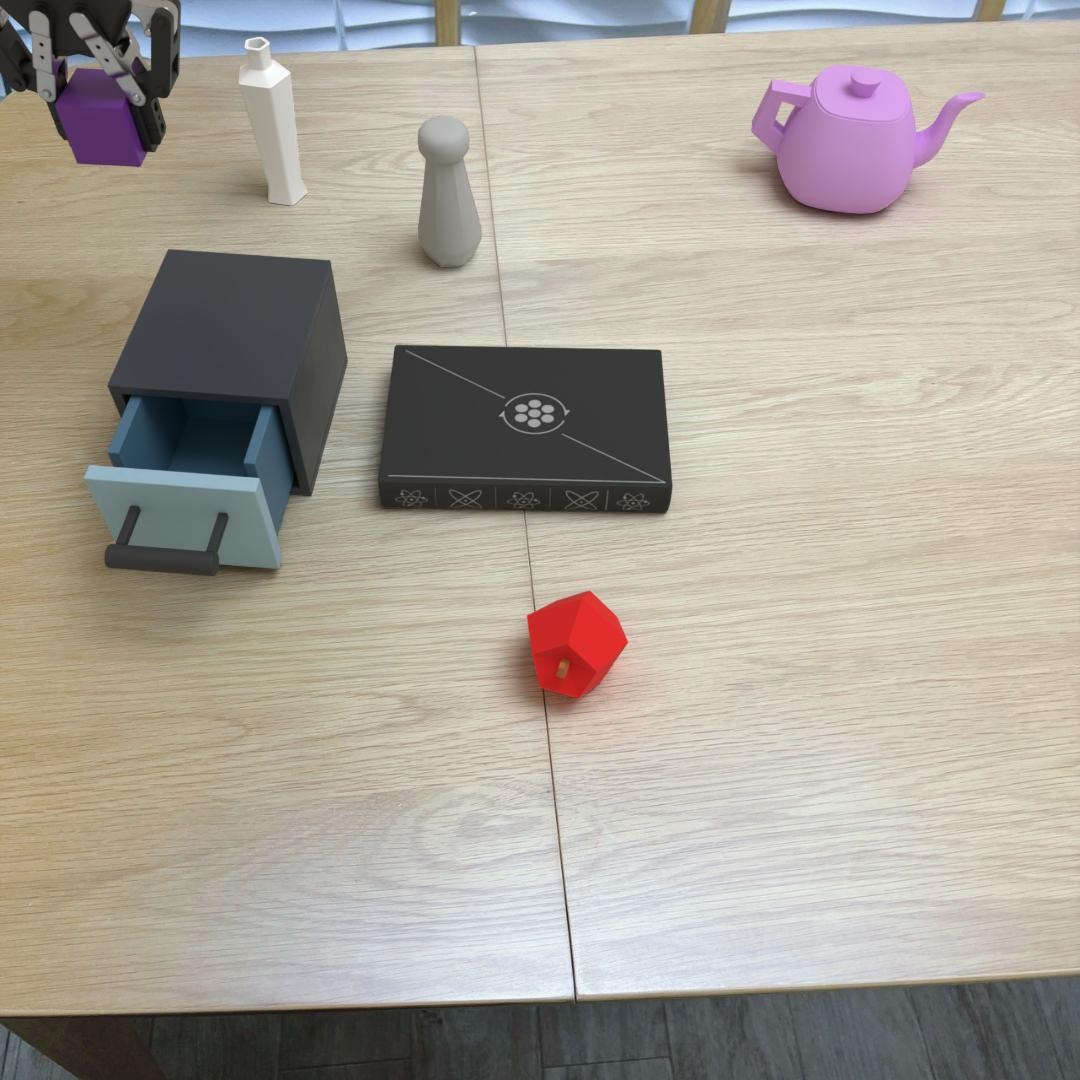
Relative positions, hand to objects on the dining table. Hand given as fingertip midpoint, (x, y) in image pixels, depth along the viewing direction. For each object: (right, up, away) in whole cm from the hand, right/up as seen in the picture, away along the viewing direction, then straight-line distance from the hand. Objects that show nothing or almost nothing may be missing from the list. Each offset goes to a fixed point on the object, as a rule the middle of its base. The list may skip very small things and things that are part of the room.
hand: (116, 142), depth 76 cm
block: (0, 0, 0) cm, 0 cm away
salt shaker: (+22, -2, +24) cm, 32 cm away
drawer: (+6, -26, +4) cm, 27 cm away
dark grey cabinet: (+7, -18, +11) cm, 22 cm away
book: (+29, -20, +10) cm, 36 cm away
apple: (+32, -36, -2) cm, 48 cm away
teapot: (+60, +7, +31) cm, 68 cm away
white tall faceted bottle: (+5, +5, +29) cm, 29 cm away
